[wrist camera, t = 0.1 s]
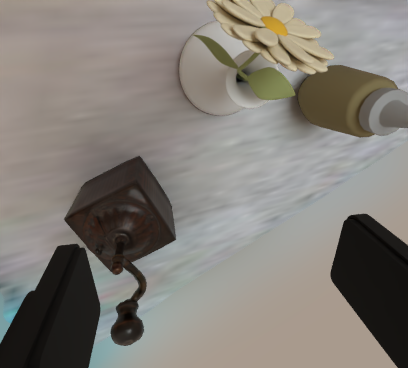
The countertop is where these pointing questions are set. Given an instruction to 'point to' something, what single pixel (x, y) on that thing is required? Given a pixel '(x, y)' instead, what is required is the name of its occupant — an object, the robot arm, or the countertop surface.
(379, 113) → the squeeze bottle
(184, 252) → the countertop surface
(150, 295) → the countertop surface
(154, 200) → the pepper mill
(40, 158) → the countertop surface
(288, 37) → the flower in vase
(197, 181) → the countertop surface
